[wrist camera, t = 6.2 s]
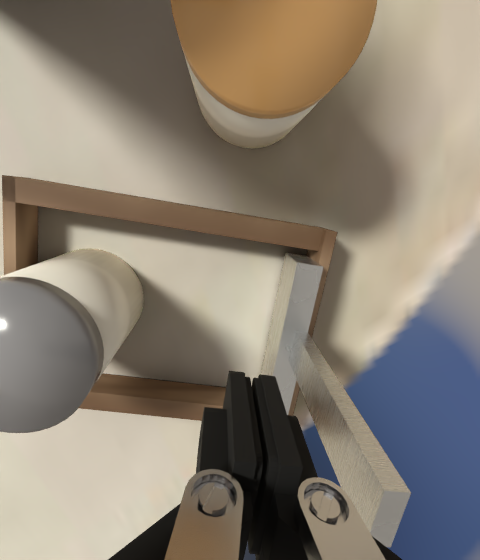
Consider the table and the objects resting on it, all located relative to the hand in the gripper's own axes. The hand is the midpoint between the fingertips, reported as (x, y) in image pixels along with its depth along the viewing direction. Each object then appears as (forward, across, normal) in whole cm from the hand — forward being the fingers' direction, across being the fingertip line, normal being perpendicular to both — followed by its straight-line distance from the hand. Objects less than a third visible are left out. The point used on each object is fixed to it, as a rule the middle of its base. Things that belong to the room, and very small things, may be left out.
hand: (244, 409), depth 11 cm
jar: (+9, +1, -13) cm, 16 cm away
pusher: (+9, -2, 0) cm, 9 cm away
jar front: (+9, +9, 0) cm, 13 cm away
